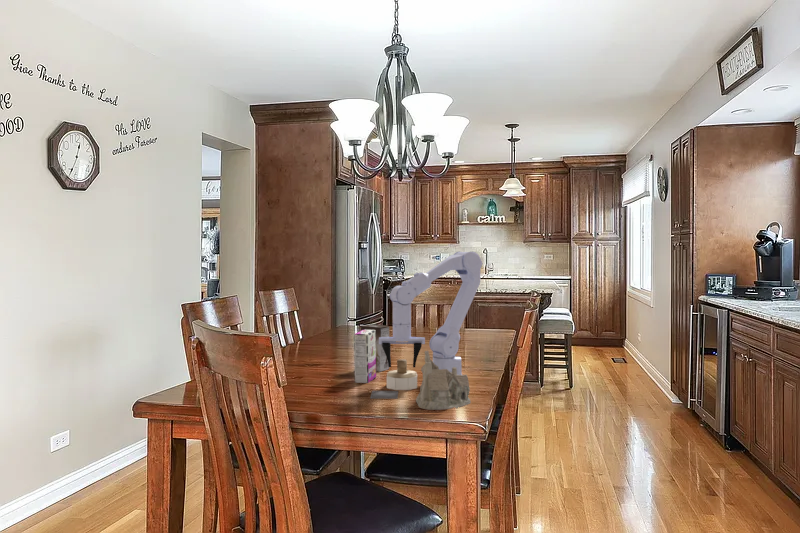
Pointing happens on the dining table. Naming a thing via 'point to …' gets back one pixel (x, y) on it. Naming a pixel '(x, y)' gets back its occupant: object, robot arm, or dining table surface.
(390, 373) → the lid
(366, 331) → the candy bar box
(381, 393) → the mat
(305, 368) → the dining table surface
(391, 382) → the bowl
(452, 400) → the ceramic cottage
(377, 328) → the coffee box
